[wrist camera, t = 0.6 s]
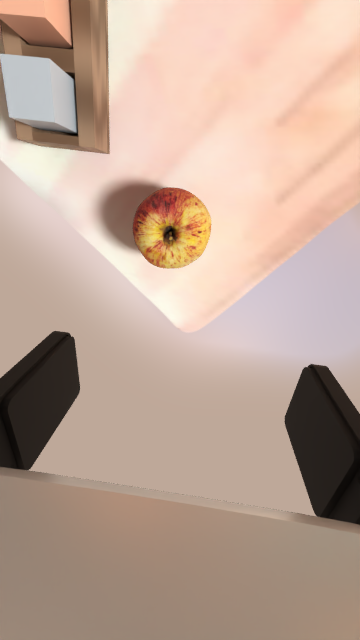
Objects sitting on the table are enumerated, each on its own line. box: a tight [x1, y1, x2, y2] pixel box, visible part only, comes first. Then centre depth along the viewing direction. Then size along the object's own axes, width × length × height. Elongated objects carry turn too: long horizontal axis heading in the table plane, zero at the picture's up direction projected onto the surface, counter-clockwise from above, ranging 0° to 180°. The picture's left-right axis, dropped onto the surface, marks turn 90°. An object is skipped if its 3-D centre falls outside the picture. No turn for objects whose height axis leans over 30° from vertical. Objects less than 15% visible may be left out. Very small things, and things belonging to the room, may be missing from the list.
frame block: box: [0, 0, 110, 154], centre depth 26 cm, size 21×9×4 cm, turn 174°
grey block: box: [0, 54, 78, 134], centre depth 25 cm, size 4×4×5 cm
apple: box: [133, 188, 211, 268], centre depth 31 cm, size 9×9×10 cm
